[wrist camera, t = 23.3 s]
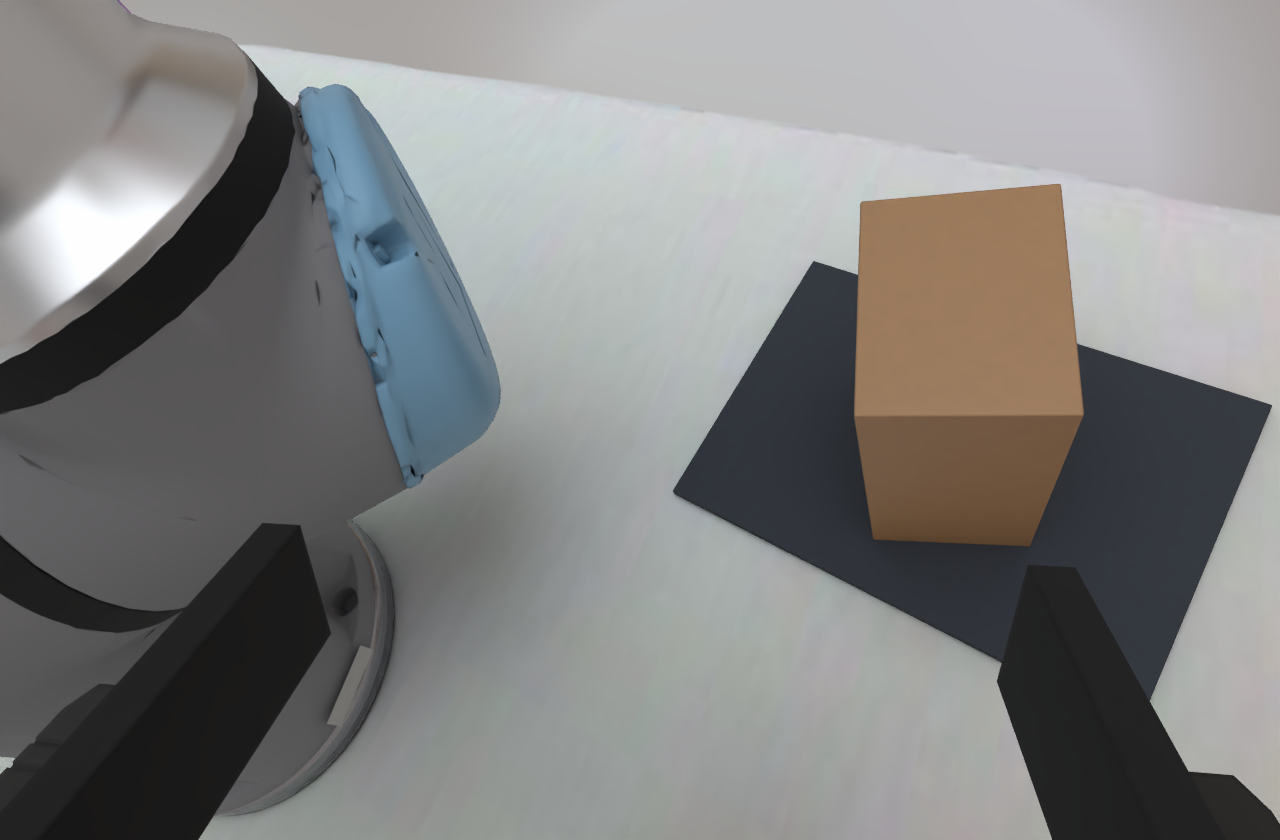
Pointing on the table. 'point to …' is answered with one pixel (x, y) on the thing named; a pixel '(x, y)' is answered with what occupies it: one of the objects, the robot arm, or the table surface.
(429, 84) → the table surface
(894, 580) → the desk mat
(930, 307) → the carton
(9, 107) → the robot arm
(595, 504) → the table surface
